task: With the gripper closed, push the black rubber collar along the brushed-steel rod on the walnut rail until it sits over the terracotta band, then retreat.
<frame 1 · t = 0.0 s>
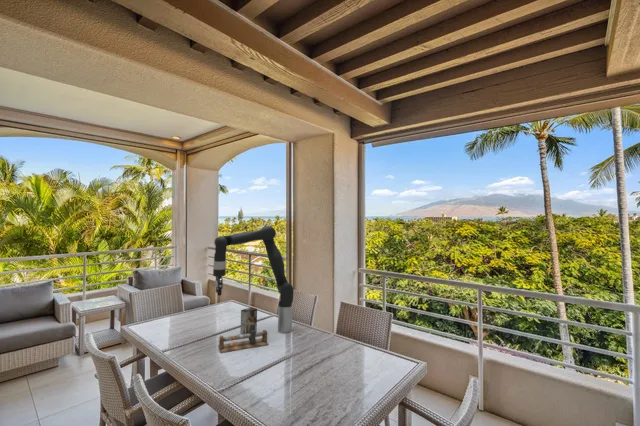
hand: (218, 293, 179), 29 cm above the table, fingers open, 8 cm apart
collar: (252, 332, 174), point 7 cm above the table, slide at -5.0 cm
rail: (243, 345, 172), on the table
coffee box: (248, 333, 192), on the table
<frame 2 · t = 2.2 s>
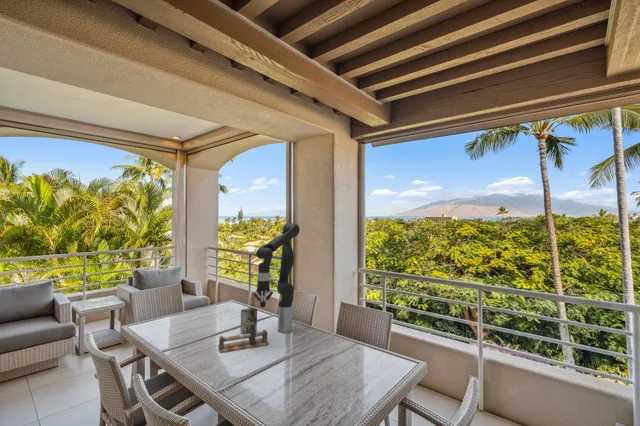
hand: (262, 307, 178), 22 cm above the table, fingers closed
nothing on the table moved.
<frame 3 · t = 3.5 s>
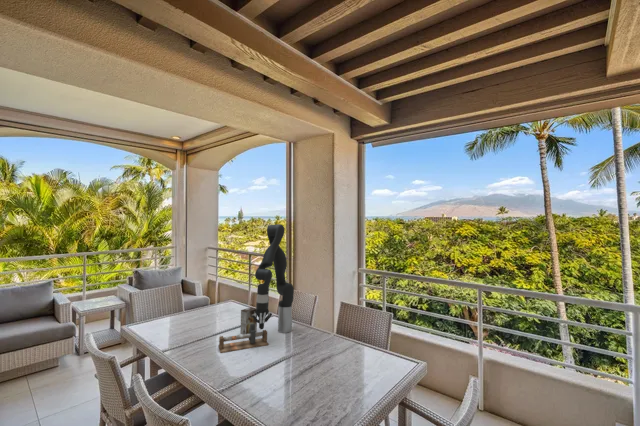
hand: (261, 329, 177), 9 cm above the table, fingers closed
nothing on the table moved.
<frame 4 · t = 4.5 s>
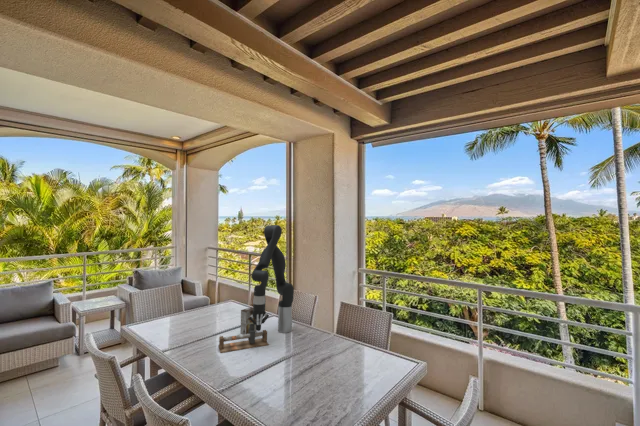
hand: (258, 330, 176), 8 cm above the table, fingers closed
collar: (251, 332, 174), point 7 cm above the table, slide at -4.7 cm, touching gripper
everything else where it was.
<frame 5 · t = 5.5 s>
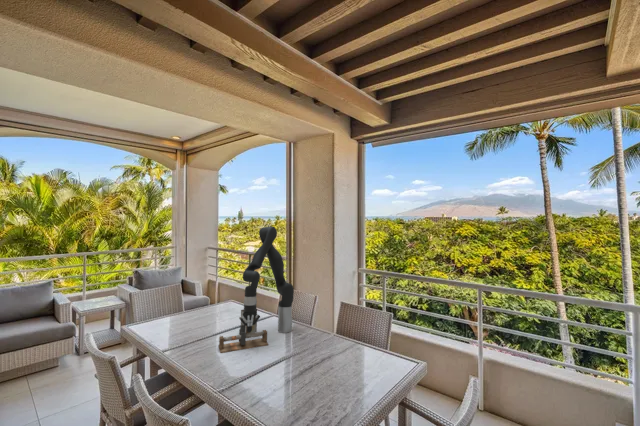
hand: (249, 331, 173), 8 cm above the table, fingers closed
collar: (242, 334, 172), point 7 cm above the table, slide at 1.0 cm, touching gripper
everything else where it was.
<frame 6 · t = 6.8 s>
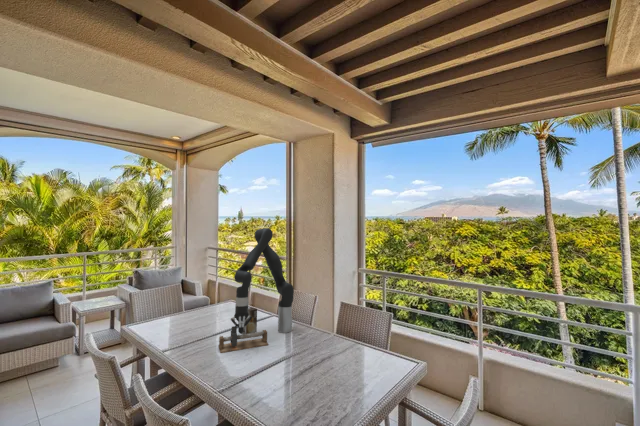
hand: (240, 333, 171), 8 cm above the table, fingers closed
collar: (233, 335, 169), point 7 cm above the table, slide at 6.0 cm, touching gripper
everything else where it was.
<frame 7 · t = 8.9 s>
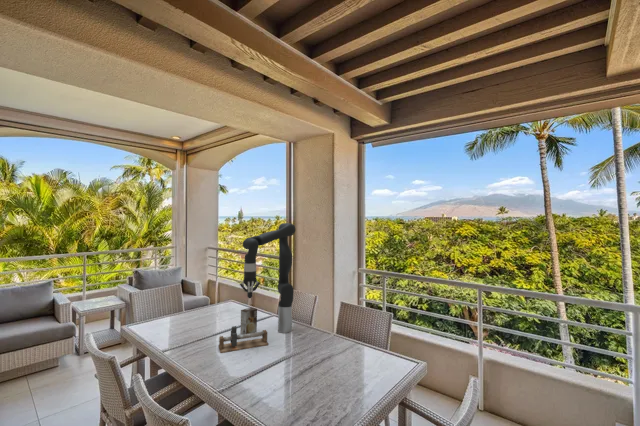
hand: (249, 297, 178), 28 cm above the table, fingers closed
collar: (233, 335, 169), point 7 cm above the table, slide at 6.0 cm
everything else where it was.
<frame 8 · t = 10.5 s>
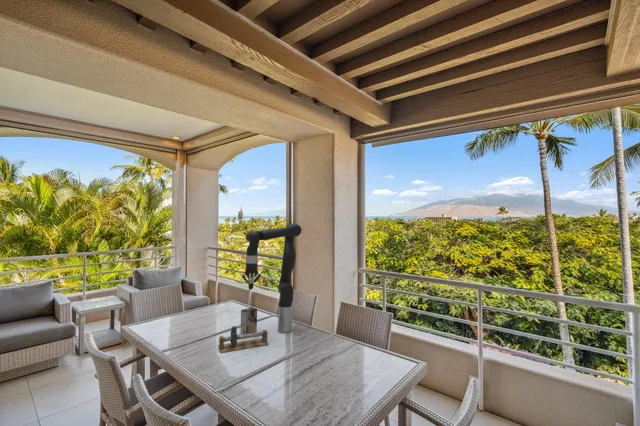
hand: (250, 289, 183), 32 cm above the table, fingers closed
nothing on the table moved.
at the end: collar slide at 6.0 cm; collar 0.0 cm from the target spot, resting on rail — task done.
